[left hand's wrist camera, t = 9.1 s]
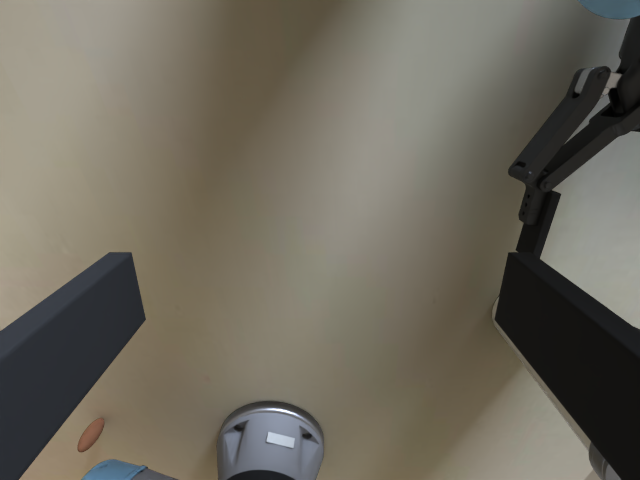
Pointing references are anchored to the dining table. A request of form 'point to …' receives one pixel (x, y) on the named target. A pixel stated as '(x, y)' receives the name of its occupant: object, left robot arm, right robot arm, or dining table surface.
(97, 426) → the brown ellipsoid
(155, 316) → the dining table surface
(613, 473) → the lid
